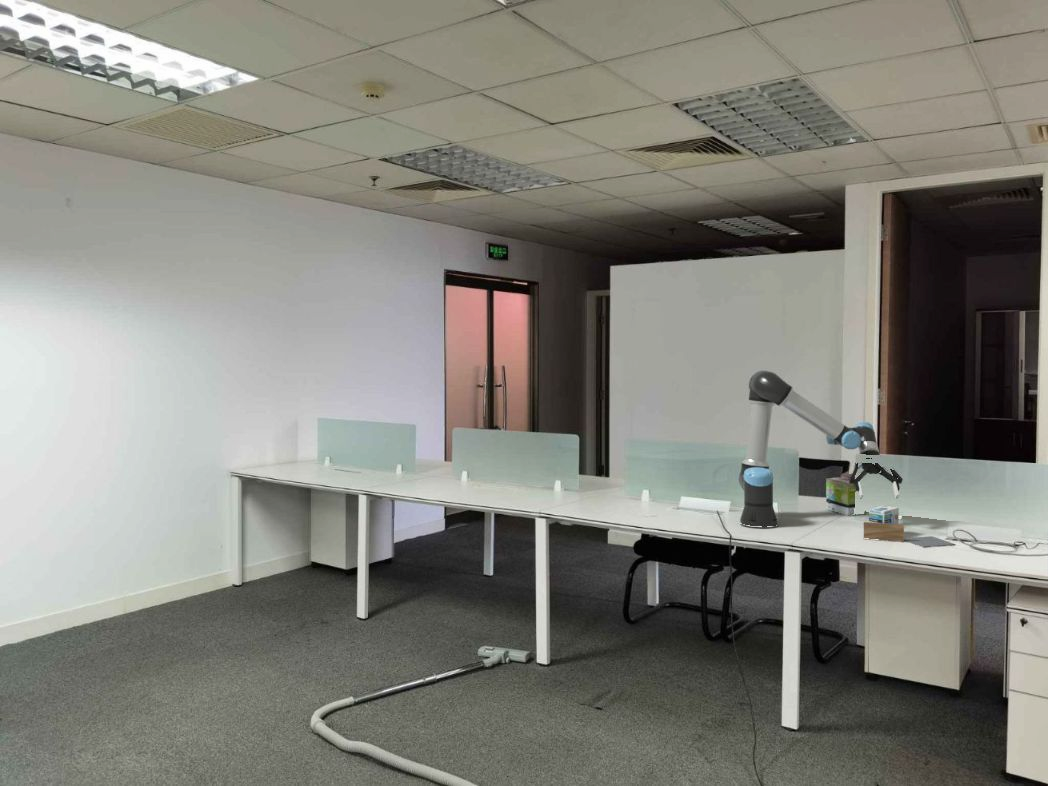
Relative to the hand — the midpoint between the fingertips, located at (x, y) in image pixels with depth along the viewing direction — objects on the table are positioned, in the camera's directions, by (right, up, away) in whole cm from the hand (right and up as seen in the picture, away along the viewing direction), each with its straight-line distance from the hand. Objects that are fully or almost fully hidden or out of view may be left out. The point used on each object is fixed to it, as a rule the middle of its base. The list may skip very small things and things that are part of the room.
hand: (879, 496), depth 322 cm
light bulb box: (-2, -14, -8) cm, 17 cm away
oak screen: (-6, -14, -17) cm, 23 cm away
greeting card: (+8, -11, +53) cm, 54 cm away
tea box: (+1, -12, +36) cm, 38 cm away
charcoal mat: (+9, -14, -21) cm, 27 cm away
